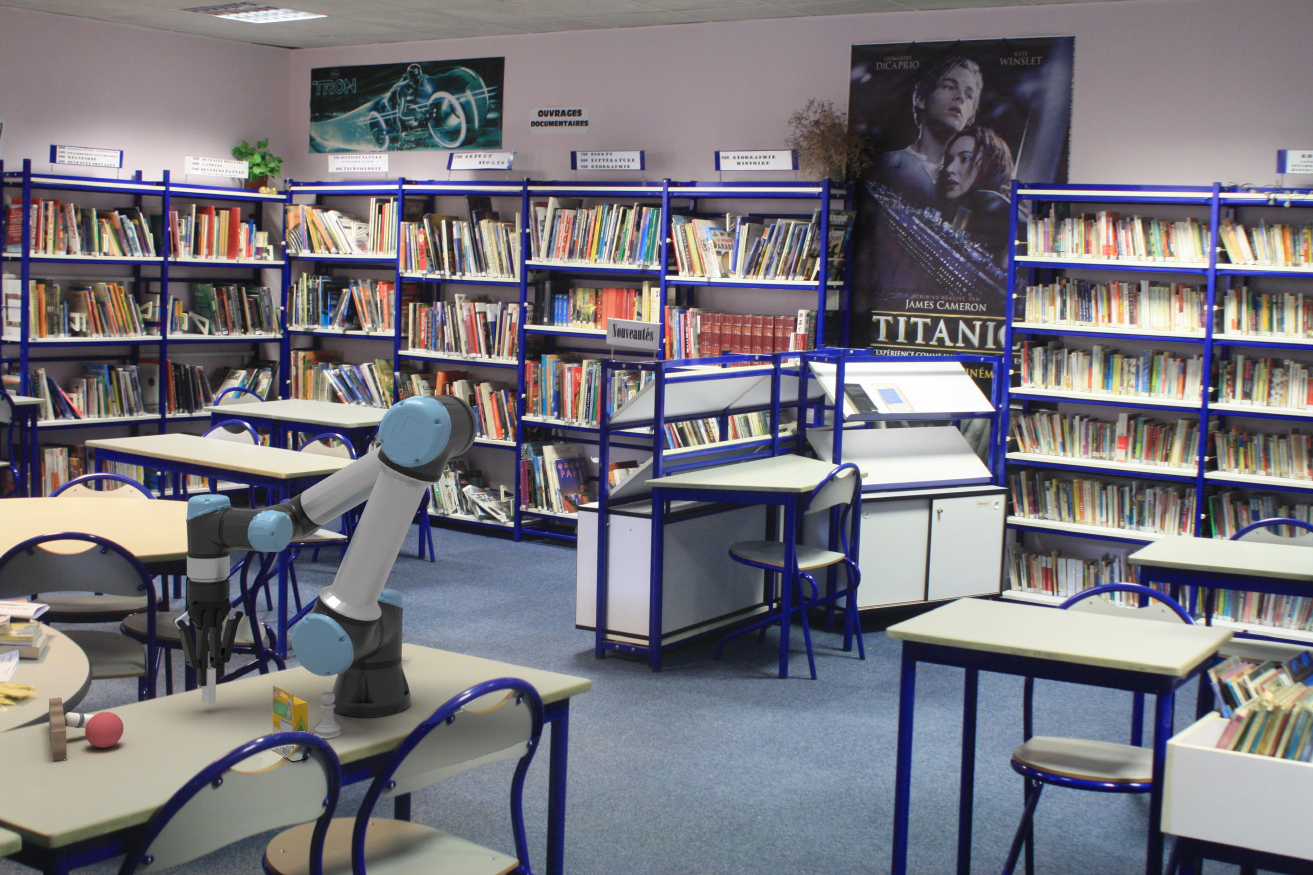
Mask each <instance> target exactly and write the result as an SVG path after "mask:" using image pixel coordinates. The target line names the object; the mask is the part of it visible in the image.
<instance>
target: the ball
mask: <svg viewBox="0 0 1313 875" xmlns="http://www.w3.org/2000/svg"><path fill="white" fill-rule="evenodd" d="M93 715H94V716H93V717H92V718H91V719H90V720H89V721H88V723H87V725H86V728H84V735H85V738H86V740H87V742H88V743H89V744H90V745H92V746H93V747H95V748H97V749H98V748H99V749H105V748H106V749H107V748H110V747H112V746H114V745H116V744H118V742H119V741H120V739H121V738H122V736H123V734H124V730H125V729H124V723H123V721H122V719H121V718H120V716H118V715H117V714H116V713H113V712H110V711H101V712H99V713H96V714H93Z"/></svg>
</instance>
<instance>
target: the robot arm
mask: <svg viewBox="0 0 1313 875" xmlns="http://www.w3.org/2000/svg"><path fill="white" fill-rule="evenodd" d="M478 426H479V425H478V418H477V415H476V413H475V411H474V409H473V408H472V406H471V405H470V404H469V403H468V402H467V401H465V399H463V398H461V397H458V396H456V395H453V394H437V395H429V396H427V395H416V396H411V397H410V396H409V397H408V398H405V399H403V400H400V401H398V402H396V403H395V404H393V405H391V407H389V409H388V410H387V411H385V413H384V415H383V417H382V419H381V420H380V424H379V428H378V440H379V442H380V445H379V446H378V447H376V448H375V449H372V450H370V451H369V452H367V453H366V454H365V455H364V454H363V456H361V457H359V458H358V459H356V460H355V461H352V462H350V463H349V464H348V465H346V466H345V467H342V468H341V469H340V470H337V471H336V472H334V473H332V474H331V475H329V476H328V477H325V478H324V479H322V480H321V481H319V482H318V483H316V484H314V485H312V486H311V487H309V488H307V489H305V490H304V491H302V492H301V493H299V494H297V495H296V496H294V497H292V498H290V499H289V500H287V501H285V502H282V503H279V504H274V505H270V506H269V505H268V506H266V507H265V506H264V507H260V508H256V509H254V508H250V509H249V508H237V507H231V506H232V505H231V500H230V498H229V496H227V495H223V494H200V495H194V496H192V497H190V498H189V499H188V501H187V510H186V511H187V512H186V519H185V522H186V538H187V540H186V541H187V543H186V544H187V551H186V552H187V553H186V576H187V577H188V580H187V581H186V599H187V604H186V607H185V609H184V613H183V614H182V615H180V616H179V617H174V618H173V619H172V624H173V625H174V626H175V628H176V629H177V631H178V634H179V639H180V643H181V645H182V646H181V647H182V652H183V654H184V655H183V656H184V658H185V661H186V662H185V663H186V665H187V666H188V667H191V668H193V669H196V672H197V673H196V674H197V675H196V676H197V677H196V678H197V679H196V680H197V681H196V682H197V685H198V686H200V687H201V701H202V702H203V703H205V704H207V705H211V704H215V703H216V702H217V701H216V700H217V699H216V697H217V692H216V690H217V687H216V686H217V684H220V683H221V682H220V681H221V669H222V668H223V666H224V664H225V663H229V662H230V661H231V658H232V654H233V649H234V645H235V644H234V643H235V640H236V637H237V636H236V635H237V631H238V628H239V624H240V622H241V620H242V619H243V616H244V612H243V611H241V610H240V609H239V610H238V609H236V608H234V607H233V605H232V603H231V601H230V600H231V599H230V595H231V593H230V592H231V581H230V578H229V576H230V574H231V564H230V563H231V552H230V551H231V550H244V551H255V552H261V553H269V552H270V553H271V552H272V553H274V552H275V553H278V552H282V551H284V550H285V549H286V548H287V546H289V545H290V544H291V542H292V541H298V540H302V539H306V538H309V537H311V536H312V535H314V534H316V533H317V532H318V531H319V530H321V528H322V526H324V525H326V524H328V523H329V522H331V521H333V520H334V519H336V518H338V517H339V516H341V515H343V514H345V513H346V512H348V511H350V510H352V509H353V508H355V507H357V506H359V505H361V504H362V503H364V502H365V501H367V502H366V504H365V507H364V509H363V512H362V513H361V516H360V519H359V521H358V523H357V525H356V529H354V532H353V535H352V537H351V540H350V543H349V544H348V546H347V549H346V552H345V554H344V556H343V559H342V560H341V564H340V565H339V568H338V571H337V573H336V575H335V578H334V579H333V583H332V584H331V585H328V586H324V587H323V588H321V589H320V591H319V594H318V596H317V598H316V600H315V602H314V605H313V608H312V609H311V612H310V613H309V614H307V615H304V616H303V617H302V619H300V620H299V621H298V622H297V623H296V624H295V626H294V627H293V631H292V635H291V646H292V651H293V652H294V654H295V656H296V660H297V661H298V662H299V663H300V665H301V666H302V667H303V668H304V669H305V670H307V671H308V672H310V673H311V674H313V675H316V676H319V677H331V676H335V675H336V679H335V681H334V683H333V687H332V690H331V692H332V693H334V695H335V701H334V702H333V703H332V704H335V705H336V706H335V707H334V709H333V713H337V714H340V715H342V716H348V717H355V718H356V717H357V718H370V717H371V718H375V717H384V716H389V715H394V714H397V713H400V712H403V711H405V710H407V709H409V707H410V706H411V690H410V686H409V684H408V683H409V682H408V681H407V677H406V674H405V671H404V667H403V660H402V659H403V658H402V656H403V619H404V618H403V617H404V616H403V614H404V612H403V611H404V606H403V596H402V593H401V592H400V591H399V590H397V589H394V588H388V587H387V588H386V587H385V585H386V583H387V580H388V578H389V576H390V573H391V571H392V569H393V567H394V564H395V562H396V560H397V558H398V555H399V553H400V550H401V548H402V546H403V543H404V541H405V538H406V536H407V535H408V532H409V529H410V527H411V525H412V523H413V520H414V518H415V516H416V514H417V511H418V509H419V507H420V504H421V502H422V499H423V498H424V495H425V493H426V490H427V488H428V487H430V486H432V485H435V484H438V483H439V482H440V481H441V478H442V475H443V474H444V470H445V468H446V467H447V464H448V461H449V460H450V459H451V458H454V457H458V456H460V455H462V454H464V453H465V452H466V451H468V450H469V449H470V448H471V446H472V445H473V443H474V442H475V439H476V438H477V435H478V429H479V428H478ZM226 618H227V620H226ZM225 620H226V623H225V627H224V631H223V622H225ZM190 621H191V623H192V624H193V625H194V631H195V643H194V641H193V637H192V636H193V635H192V633H191V630H190V627H189V626H190ZM222 632H223V637H222ZM194 644H195V645H194Z"/></svg>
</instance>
